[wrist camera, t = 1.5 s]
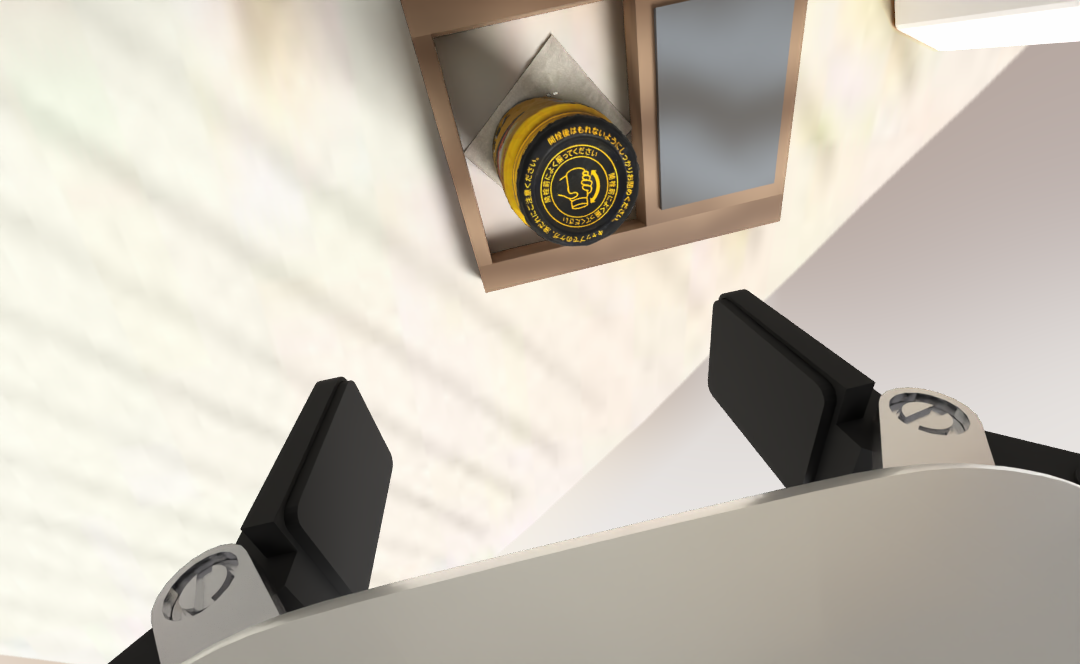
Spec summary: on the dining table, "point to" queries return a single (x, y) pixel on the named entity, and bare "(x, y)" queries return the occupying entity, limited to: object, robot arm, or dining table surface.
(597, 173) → the condiment
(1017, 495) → the robot arm
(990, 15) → the cup
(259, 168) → the dining table surface
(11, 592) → the dining table surface
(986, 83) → the dining table surface
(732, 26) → the pocket board
